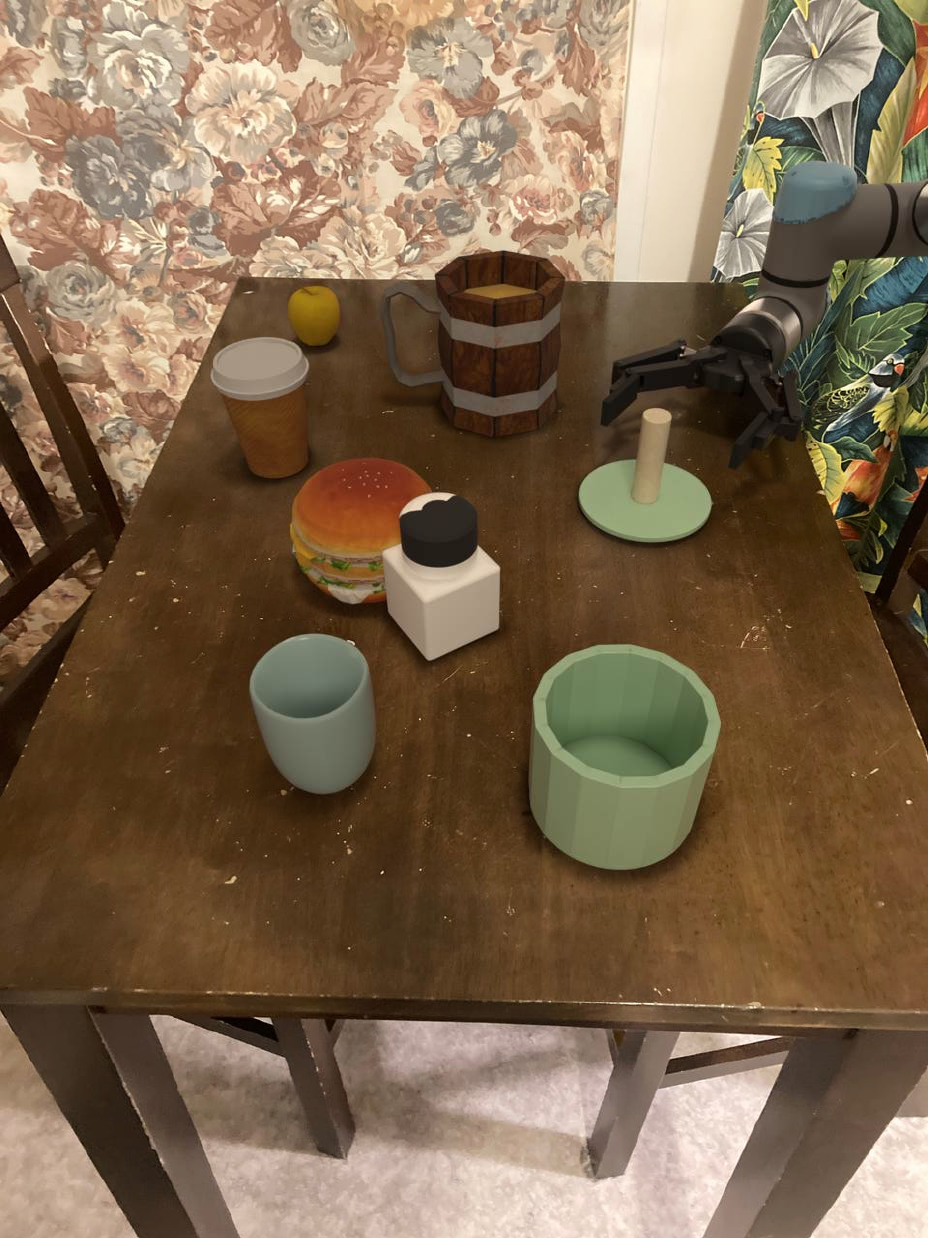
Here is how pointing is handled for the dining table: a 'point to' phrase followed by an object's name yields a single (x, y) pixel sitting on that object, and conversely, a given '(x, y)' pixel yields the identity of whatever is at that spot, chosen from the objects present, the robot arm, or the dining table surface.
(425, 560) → the medicine bottle
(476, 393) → the mug
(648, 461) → the tin lid
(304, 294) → the apple
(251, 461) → the disposable coffee cup
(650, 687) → the tin
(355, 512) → the burger
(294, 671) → the cup
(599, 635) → the dining table surface
